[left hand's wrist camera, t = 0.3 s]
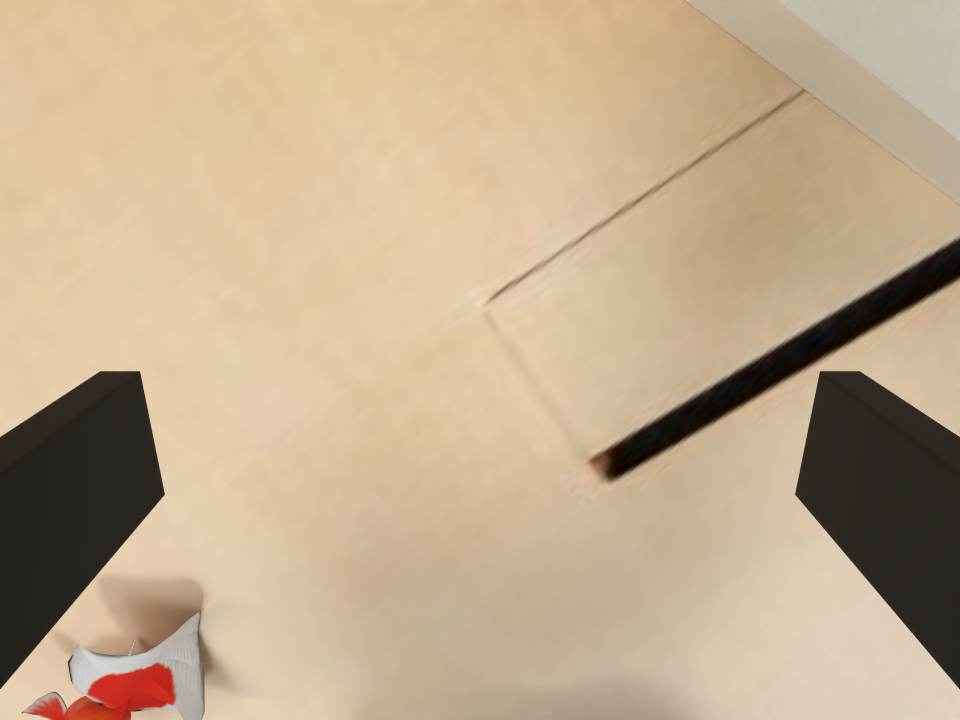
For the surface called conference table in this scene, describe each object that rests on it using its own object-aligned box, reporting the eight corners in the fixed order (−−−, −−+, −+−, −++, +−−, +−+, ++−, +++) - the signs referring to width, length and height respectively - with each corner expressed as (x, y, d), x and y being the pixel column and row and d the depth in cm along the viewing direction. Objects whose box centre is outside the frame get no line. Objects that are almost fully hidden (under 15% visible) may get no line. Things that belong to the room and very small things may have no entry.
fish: (-42, 685, 45) (-59, 817, 37) (155, 541, 49) (176, 634, 41) (71, 738, 52) (76, 859, 44) (237, 607, 55) (269, 699, 48)
